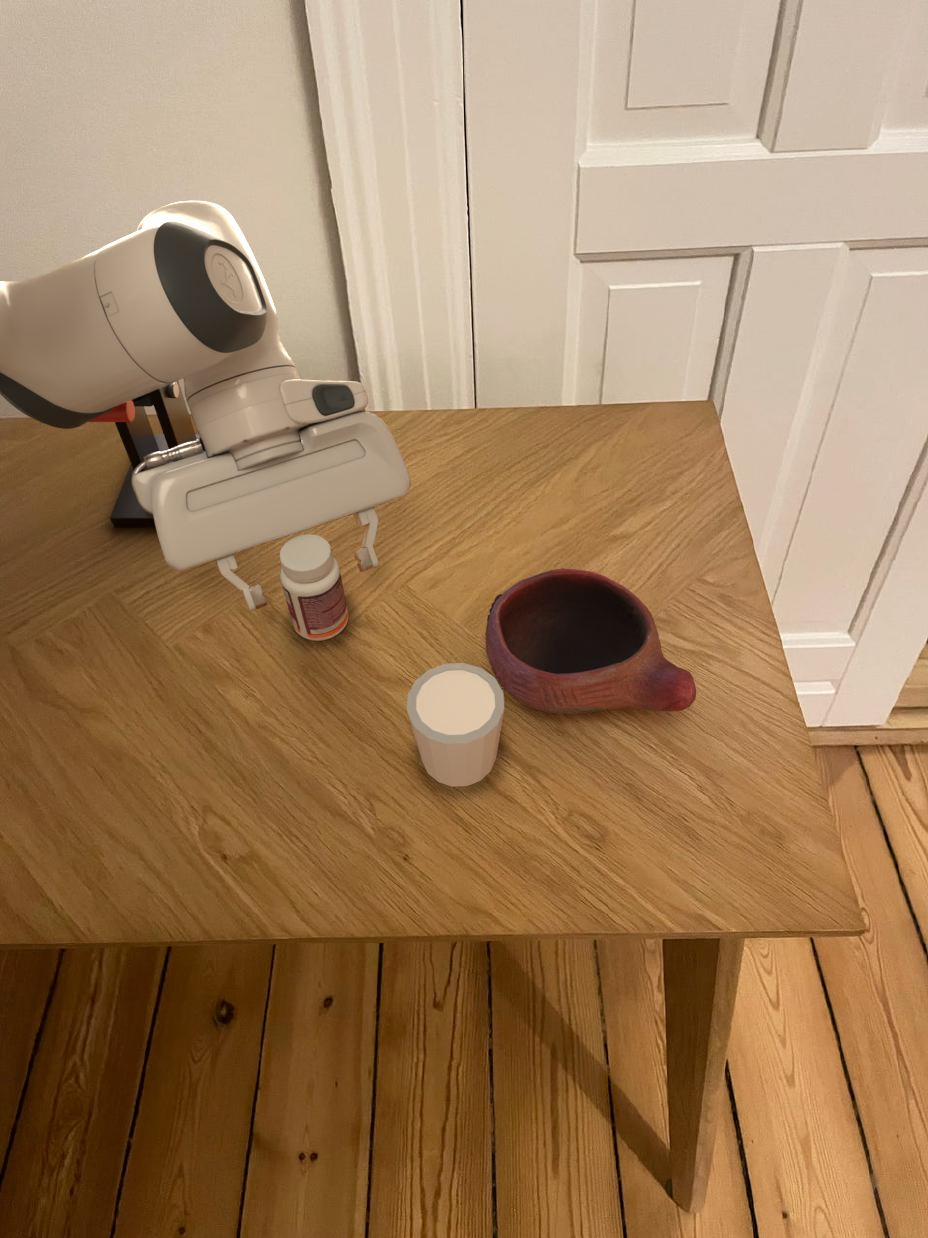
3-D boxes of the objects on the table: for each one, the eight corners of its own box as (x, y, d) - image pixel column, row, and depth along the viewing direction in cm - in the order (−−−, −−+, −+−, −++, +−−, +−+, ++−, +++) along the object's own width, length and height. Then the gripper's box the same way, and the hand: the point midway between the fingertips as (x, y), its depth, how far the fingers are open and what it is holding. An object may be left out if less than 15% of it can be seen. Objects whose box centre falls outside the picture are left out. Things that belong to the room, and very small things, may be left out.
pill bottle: (359, 609, 80) (346, 540, 74) (331, 649, 77) (315, 581, 71) (311, 592, 81) (295, 523, 75) (282, 631, 79) (262, 563, 72)
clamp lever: (128, 427, 73) (124, 396, 72) (59, 427, 73) (53, 396, 72) (180, 401, 84) (177, 373, 83) (120, 401, 84) (116, 373, 83)
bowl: (468, 724, 72) (465, 662, 66) (503, 601, 80) (504, 535, 74) (679, 765, 69) (696, 704, 63) (694, 633, 77) (711, 567, 71)
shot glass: (521, 741, 71) (523, 687, 66) (473, 810, 68) (470, 759, 62) (445, 702, 74) (441, 647, 68) (395, 767, 70) (386, 714, 65)
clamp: (208, 527, 87) (171, 416, 77) (113, 527, 87) (64, 416, 77) (234, 443, 94) (202, 332, 85) (146, 443, 95) (104, 332, 85)
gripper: (119, 456, 68) (188, 635, 70) (382, 377, 73) (439, 546, 75) (125, 466, 74) (188, 631, 76) (367, 393, 79) (420, 549, 81)
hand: (315, 588), depth 75 cm, fingers open, 8 cm apart
